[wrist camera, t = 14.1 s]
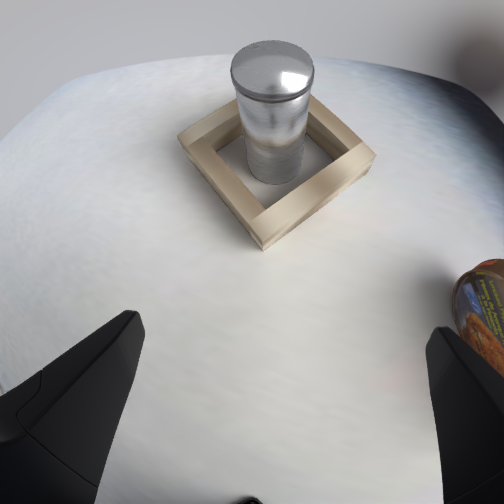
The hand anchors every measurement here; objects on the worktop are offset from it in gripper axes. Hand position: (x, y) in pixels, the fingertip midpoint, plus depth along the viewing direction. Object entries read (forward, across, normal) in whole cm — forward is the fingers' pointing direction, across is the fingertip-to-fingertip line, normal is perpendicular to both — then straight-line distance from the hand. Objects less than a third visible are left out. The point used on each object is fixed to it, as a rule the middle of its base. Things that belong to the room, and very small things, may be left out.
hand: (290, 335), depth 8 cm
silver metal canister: (+19, +1, 0) cm, 19 cm away
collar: (+19, +1, 0) cm, 19 cm away
